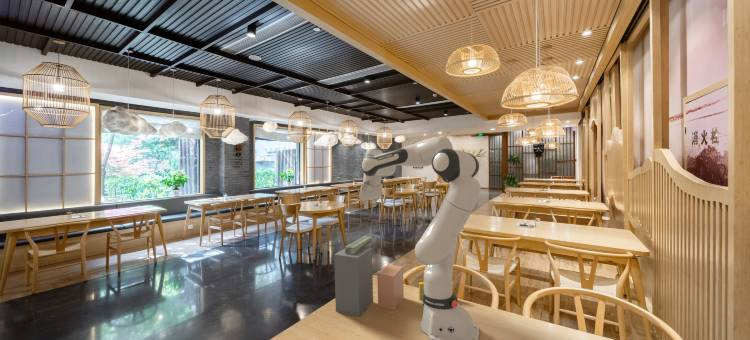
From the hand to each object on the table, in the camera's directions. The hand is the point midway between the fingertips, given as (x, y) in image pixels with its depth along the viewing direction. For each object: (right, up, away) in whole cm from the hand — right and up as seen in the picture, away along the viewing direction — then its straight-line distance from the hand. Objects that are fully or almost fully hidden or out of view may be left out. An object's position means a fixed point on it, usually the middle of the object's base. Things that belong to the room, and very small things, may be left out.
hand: (369, 207), depth 144 cm
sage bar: (-5, -18, -10) cm, 21 cm away
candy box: (+32, -43, -9) cm, 55 cm away
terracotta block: (+10, -44, -11) cm, 46 cm away
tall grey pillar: (-7, -44, -14) cm, 47 cm away
